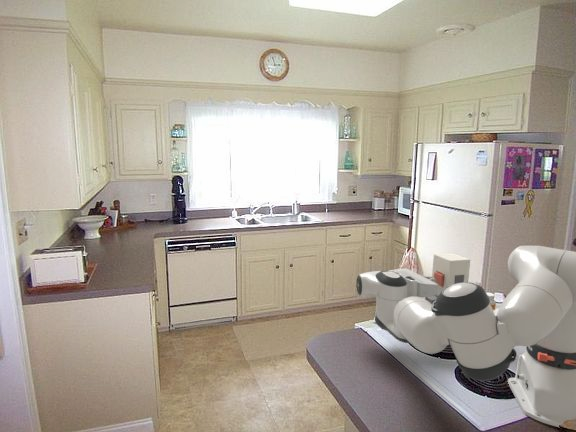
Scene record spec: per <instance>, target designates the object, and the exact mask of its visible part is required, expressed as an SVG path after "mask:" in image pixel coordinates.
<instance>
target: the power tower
mask: <svg viewBox="0 0 576 432" xmlns="http://www.w3.org/2000/svg"><path fill="white" fill-rule="evenodd" d="M432 261H433V262H432V273H431V277H433V278H434V272H440V273H442V274H445V276H444V286H439V290H438V294H437V296H438V295H439V294H440V293H441V292H442V291H443V290H444V289H445V288H446V287H448V286H450V285H453V284H456V283H462V282H469V277H470V267H471V259H470V258H468V257H464V256H461V255H459V254H456V253H453V252H452V253H451V252H450V253H449V252H448V253H435V254H433V260H432Z"/></svg>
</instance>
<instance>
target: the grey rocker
mask: <svg viewBox="0 0 576 432" xmlns="http://www.w3.org/2000/svg"><path fill="white" fill-rule="evenodd" d="M437 297H438V296H437V295H435V296H428V297H424V299H425V300H427V301H429V302H430V303H431V304H433V302H434V301H435V300H436V299H437Z"/></svg>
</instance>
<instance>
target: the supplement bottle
mask: <svg viewBox="0 0 576 432" xmlns="http://www.w3.org/2000/svg"><path fill="white" fill-rule="evenodd" d="M485 292H486V291H485ZM486 294H487V295H488V297H489V299H490V305H491V307H492V309H493V310H495V309H496V305H497V301H496V300H495V298H496V297H495V294H494V293H492V292H486Z"/></svg>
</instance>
